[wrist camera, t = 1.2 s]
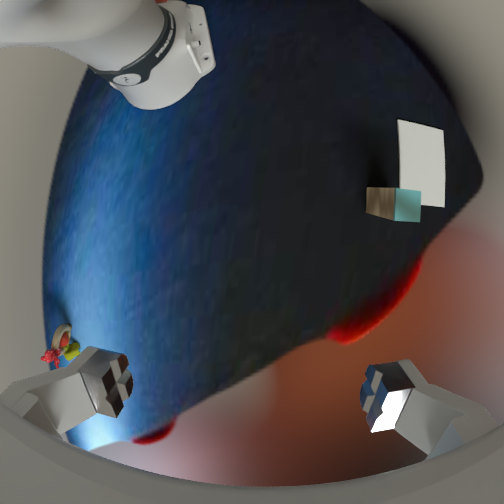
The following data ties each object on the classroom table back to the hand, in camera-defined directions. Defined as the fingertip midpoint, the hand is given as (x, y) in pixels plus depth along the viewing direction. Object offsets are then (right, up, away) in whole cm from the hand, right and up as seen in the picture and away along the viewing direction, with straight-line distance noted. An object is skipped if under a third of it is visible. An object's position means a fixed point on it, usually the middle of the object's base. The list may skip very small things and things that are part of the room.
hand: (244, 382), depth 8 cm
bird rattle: (-40, -14, +40) cm, 58 cm away
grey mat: (+29, +19, +29) cm, 45 cm away
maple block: (+20, +12, +31) cm, 39 cm away
